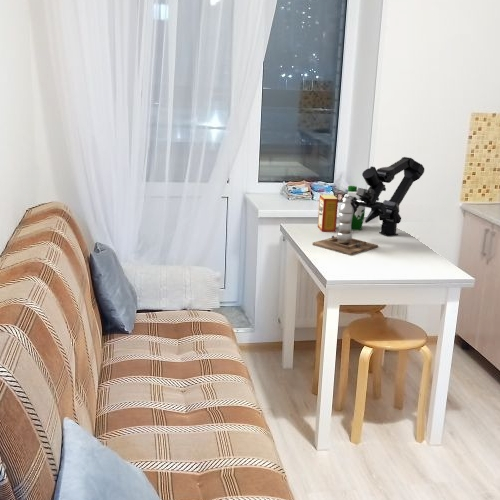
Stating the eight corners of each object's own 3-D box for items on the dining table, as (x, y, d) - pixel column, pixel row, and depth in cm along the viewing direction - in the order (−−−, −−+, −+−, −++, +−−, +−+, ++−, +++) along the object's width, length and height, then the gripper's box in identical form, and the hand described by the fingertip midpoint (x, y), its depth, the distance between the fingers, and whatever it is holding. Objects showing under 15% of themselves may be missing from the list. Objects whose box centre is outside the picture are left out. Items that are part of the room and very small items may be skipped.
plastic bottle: (354, 242, 287) (357, 197, 281) (346, 246, 281) (350, 200, 276) (340, 240, 290) (344, 195, 285) (333, 243, 285) (336, 197, 279)
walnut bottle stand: (340, 237, 299) (341, 231, 298) (377, 247, 285) (378, 240, 285) (312, 244, 285) (313, 238, 284) (350, 255, 272) (350, 248, 271)
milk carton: (344, 224, 322) (348, 184, 317) (363, 226, 321) (367, 186, 315) (343, 229, 314) (346, 187, 309) (362, 230, 313) (366, 189, 307)
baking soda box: (317, 226, 317) (319, 194, 312) (330, 226, 318) (333, 194, 313) (322, 231, 308) (324, 198, 303) (335, 231, 309) (338, 198, 304)
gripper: (349, 177, 292) (332, 205, 288) (385, 184, 280) (368, 213, 275) (358, 193, 300) (342, 220, 296) (393, 200, 287) (377, 228, 283)
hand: (356, 220), depth 287 cm, fingers open, 9 cm apart
